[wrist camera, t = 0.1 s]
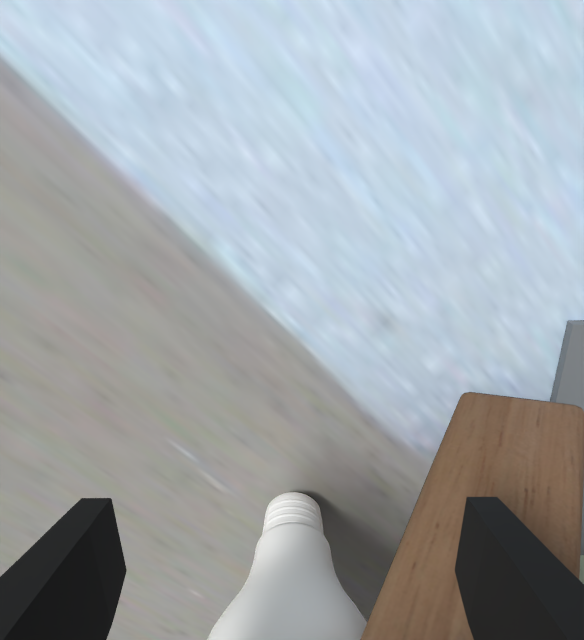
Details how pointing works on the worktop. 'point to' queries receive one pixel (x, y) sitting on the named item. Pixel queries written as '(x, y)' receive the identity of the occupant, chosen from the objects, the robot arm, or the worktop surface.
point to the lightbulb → (291, 583)
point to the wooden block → (483, 481)
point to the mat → (571, 377)
